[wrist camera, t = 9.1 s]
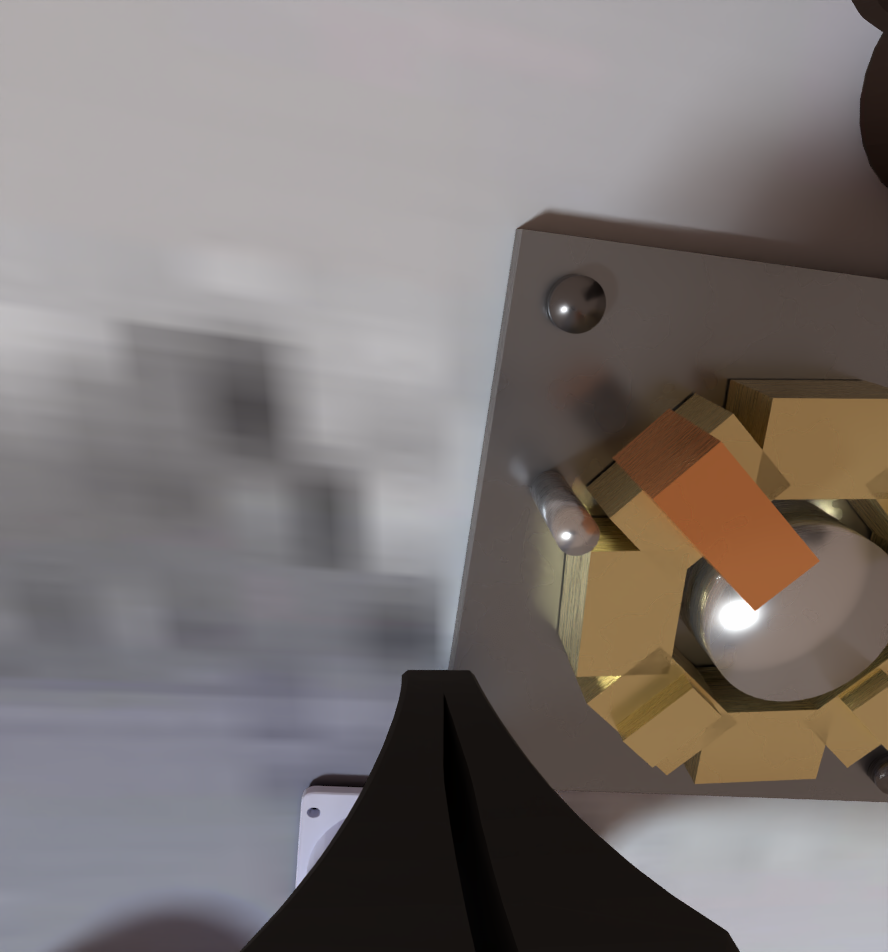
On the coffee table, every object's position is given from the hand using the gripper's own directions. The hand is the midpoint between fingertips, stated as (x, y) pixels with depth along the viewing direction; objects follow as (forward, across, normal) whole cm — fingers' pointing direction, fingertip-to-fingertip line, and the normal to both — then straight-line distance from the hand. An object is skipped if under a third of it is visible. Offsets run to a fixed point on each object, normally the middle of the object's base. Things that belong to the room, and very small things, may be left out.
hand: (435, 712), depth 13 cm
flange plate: (+10, -12, +2) cm, 15 cm away
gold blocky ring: (+9, -11, +1) cm, 14 cm away
